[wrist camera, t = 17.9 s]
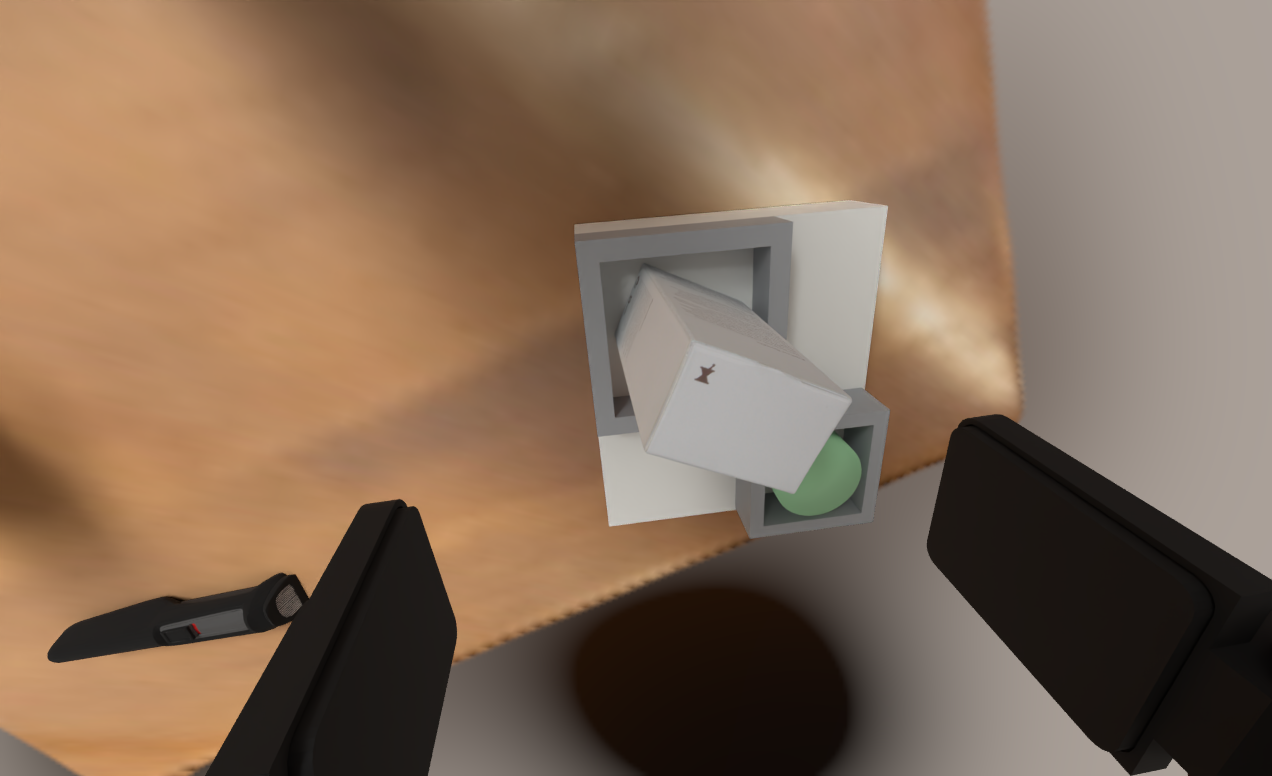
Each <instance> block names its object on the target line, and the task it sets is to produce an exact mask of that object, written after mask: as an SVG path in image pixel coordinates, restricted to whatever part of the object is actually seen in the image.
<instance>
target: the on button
mask: <svg viewBox="0 0 1272 776" xmlns="http://www.w3.org/2000/svg"><path fill="white" fill-rule="evenodd" d="M861 471H862V469H861V462H860V459H859V457H858V455H857V454H856V453H855V451H854V450H853V449H852V448H851V447H850V446H849V445H848V444H847V443H846V442H845V441H844V440H843V439H842V438H841V437H840V436H839V435H838V434H837V433H836V432H835V431H833V432H832V434H831V436H830V437H829V439H828V440H827V442H826V443H825V445H824V447H823V448H822V450H821V451H820V453H819V454H818V456H817V458H816V459H815V461H814V463H813V464H812V466H811V468H810V469H809V471H808V473H807V474H806V476H805V477H804V479H803V481H802V482H801V484H800V486H799V487H798V489H797V491H796V493H795V494H790V493H787V492H784V491H781V490H777V489H774V488H772V490H773V492H774V493H775V495H776V497H777V498H778V500H779V502H780V503H781V504H782V506H783V507H785V508H786V509H787V510H789V511H790V512H792V513H795V514H798V515H803V516H814V515H820V514H824V513H827V512H829V511H832V510H834V509H836V508H837V507H839V506H840V505H842V504H843V503H844V502H845V501H847V500H848V499H849V498H850V496H851V495H852V494H853V493H854V491H855V490H856V488H857V486H858V484H859V481H860V478H861Z"/></svg>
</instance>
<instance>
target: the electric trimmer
mask: <svg viewBox="0 0 1272 776" xmlns="http://www.w3.org/2000/svg"><path fill="white" fill-rule="evenodd" d="M307 600H309V598H308V596H307V594H306V593H305V591H304V589H303V587H302V586H301V584H300V582H299V580H298V579H297V577H296V575H288V576H287V575H286V574H284V573H279V574H276V575H274V576H272V577H271V578H269V579H267V580H266V581H264V582H262V583H261V584H260V585H258V586H256V587H251V588H246V589H241V590H236V591H231V592H226V593H221V594H216V595H211V596H206V597H201V598H196V599H191V600H186V601H182V602H181V601H178V600H175V599H172V598H169V597H160V598H156V599H152V600H148V601H145V602H142V603H138V604H135V605H132V606H129V607H125V608H122V609H119V610H116V611H112V612H109V613H106V614H103V615H99V616H96V617H93V618H90V619H86V620H83V621H80V622H78V623H75V624H74V625H72V626H70V627H69V628H68V629H66V630H65V631H64V632H63V633H62V635H61V636H60V637H59V638H58V639H57V641H56V642H55V643H54V644H53V645H52V647H51V648H50V650H49V652H48V659H49V660H50V661H52V662H56V663H61V662H67V661H74V660H80V659H86V658H92V657H98V656H104V655H111V654H117V653H123V652H129V651H135V650H141V649H148V648H154V647H160V646H175V645H182V644H189V643H195V642H201V641H208V640H214V639H221V638H227V637H233V636H240V635H246V634H253V633H260V632H265V631H268V630H271V629H274V628H276V627H278V626H281V625H284V624H286V623H289V622H291V621H293V619H294V618H295V616H296V614H297V612H298V611H299V609H300V608H301V607H302V605H303V604H304V603H305V602H306V601H307Z"/></svg>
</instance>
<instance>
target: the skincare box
mask: <svg viewBox="0 0 1272 776" xmlns="http://www.w3.org/2000/svg"><path fill="white" fill-rule="evenodd" d="M615 339H616V343H617V347H618V351H619V355H620V359H621V362H622V366H623V370H624V374H625V378H626V382H627V386H628V390H629V394H630V398H631V402H632V406H633V410H634V413H635V417H636V421H637V425H638V429H639V433H640V437H641V441H642V445H643V448H644V451H645V452H646V453H647V454H651V455H654V456H658V457H661V458H665V459H668V460H672V461H676V462H679V463H683V464H686V465H690V466H693V467H697V468H701V469H704V470H708V471H712V472H715V473H719V474H723V475H727V476H730V477H734V478H738V479H741V480H745V481H749V482H752V483H756V484H760V485H763V486H767V487H770V488H774V489H777V490H781V491H784V492H787V493H790V494H795V493H796V491H797V489H798V487H799V486H800V484H801V482H802V481H803V479H804V477H805V476H806V474H807V473H808V471H809V469H810V468H811V466H812V464H813V463H814V461H815V459H816V458H817V456H818V454H819V453H820V451H821V450H822V448H823V447H824V445H825V443H826V442H827V440H828V439H829V437H830V436H831V434H832V432H833V431H834V429H835V428H836V426H837V424H838V423H839V421H840V420H841V418H842V417H843V415H844V414H845V412H846V411H847V409H848V408H849V406H850V405H851V403H852V398H851V397H850V396H849V395H848V394H847V393H846V392H844V391H843V390H842V389H841V388H840V387H839V386H838V385H837V384H835V383H834V382H833V381H832V380H831V379H830V378H829V377H828V376H826V375H825V374H824V373H823V372H822V371H821V370H820V369H818V368H817V367H816V366H815V365H814V364H813V363H812V362H811V361H809V360H808V359H807V358H806V357H805V356H804V355H803V354H801V353H800V352H799V351H798V350H797V349H796V348H794V347H793V346H792V345H791V344H790V343H789V342H788V341H787V340H785V339H784V338H783V337H782V336H781V335H780V334H778V333H777V332H776V331H775V330H774V329H773V328H771V327H770V326H769V325H768V324H767V323H766V322H765V321H763V320H762V319H761V318H760V317H759V316H758V315H757V314H756V313H754V312H753V311H752V310H751V309H750V308H749V307H748V306H746V305H745V304H744V303H743V302H742V301H740V300H737V299H735V298H732V297H730V296H727V295H725V294H722V293H720V292H717V291H714V290H712V289H709V288H707V287H704V286H702V285H699V284H697V283H694V282H692V281H689V280H686V279H684V278H681V277H679V276H676V275H674V274H671V273H668V272H666V271H663V270H661V269H658V268H656V267H653V266H650V265H648V264H645V263H643V264H642V266H641V269H640V271H639V274H638V276H637V279H636V281H635V283H634V286H633V288H632V291H631V293H630V296H629V298H628V301H627V304H626V306H625V309H624V311H623V314H622V317H621V319H620V322H619V324H618V326H617V329H616V331H615Z"/></svg>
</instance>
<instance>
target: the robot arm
mask: <svg viewBox="0 0 1272 776" xmlns="http://www.w3.org/2000/svg"><path fill="white" fill-rule="evenodd" d="M927 550H928V553H929V556H930V558H931V560H932V561H933V563H934V564H935V565H936V566H937V568H938V569H939V570H940V571H941V572H942V573H943V574H944V575H945V577H946V578H947V579H948V580H949V581H950V582H951V583H952V584H953V585H954V587H955V588H956V589H957V590H958V591H959V592H960V593H961V595H962V596H963V597H964V598H965V599H966V600H967V601H968V603H969V604H970V605H971V606H972V607H973V608H974V609H975V610H976V612H977V613H978V614H979V615H980V616H981V617H982V618H983V619H984V621H985V622H986V623H987V624H988V625H989V626H990V627H991V629H992V630H993V631H994V632H995V633H996V634H997V635H998V636H999V638H1000V639H1001V640H1002V641H1003V642H1004V643H1005V644H1006V645H1007V647H1008V648H1009V649H1010V650H1011V651H1012V652H1013V653H1014V655H1015V656H1016V657H1017V658H1018V659H1019V660H1020V661H1021V662H1022V663H1023V665H1024V666H1025V667H1026V668H1027V669H1028V670H1029V671H1030V673H1031V674H1032V675H1033V676H1034V677H1035V678H1036V679H1037V680H1038V682H1039V683H1040V684H1041V685H1042V686H1043V687H1044V688H1045V689H1046V691H1047V692H1048V693H1049V694H1050V695H1051V696H1052V697H1053V699H1054V700H1055V701H1056V702H1057V703H1058V704H1059V705H1060V706H1061V708H1062V709H1063V710H1064V711H1065V712H1066V713H1067V714H1068V716H1069V717H1070V718H1071V719H1072V720H1073V721H1074V722H1075V723H1076V725H1077V726H1078V727H1079V728H1080V729H1081V730H1082V731H1083V732H1084V733H1085V735H1086V736H1087V737H1088V738H1089V739H1090V740H1091V741H1092V742H1093V743H1094V744H1095V745H1097V746H1098V747H1099V748H1101V749H1102V750H1105V751H1107V752H1110V753H1111V754H1112V756H1113V757H1114V758H1115V759H1116V760H1117V761H1118V762H1119V763H1120V765H1121V766H1122V767H1123V768H1124V769H1125V770H1126V771H1127V772H1128V773H1129V774H1130V776H1132V775H1137V774H1141V773H1146V772H1151V771H1156V770H1160V769H1165V768H1167V766H1168V764H1169V763H1170V762H1171V760H1172V759H1174V760H1175V761H1176V762H1178V764H1179V765H1180V766H1181V767H1182V768H1183V769H1184V770H1185V771H1186V772H1187V773H1188V776H1272V580H1271V579H1269V578H1268V577H1266V576H1265V575H1263V574H1261V573H1260V572H1258V571H1257V570H1255V569H1253V568H1252V567H1250V566H1248V565H1247V564H1245V563H1244V562H1242V561H1240V560H1239V559H1237V558H1235V557H1234V556H1232V555H1231V554H1229V553H1227V552H1226V551H1224V550H1222V549H1221V548H1219V547H1217V546H1216V545H1214V544H1212V543H1211V542H1209V541H1208V540H1206V539H1204V538H1203V537H1201V536H1200V535H1198V534H1196V533H1195V532H1193V531H1191V530H1190V529H1188V528H1186V527H1185V526H1183V525H1182V524H1180V523H1178V522H1177V521H1175V520H1174V519H1172V518H1170V517H1169V516H1167V515H1165V514H1164V513H1162V512H1161V511H1159V510H1157V509H1156V508H1154V507H1152V506H1151V505H1149V504H1147V503H1146V502H1144V501H1143V500H1141V499H1139V498H1138V497H1136V496H1135V495H1133V494H1131V493H1130V492H1128V491H1126V490H1125V489H1123V488H1121V487H1120V486H1118V485H1116V484H1115V483H1113V482H1112V481H1110V480H1108V479H1107V478H1105V477H1104V476H1102V475H1100V474H1099V473H1097V472H1095V471H1094V470H1092V469H1090V468H1089V467H1087V466H1086V465H1084V464H1082V463H1081V462H1079V461H1078V460H1076V459H1074V458H1073V457H1071V456H1069V455H1068V454H1066V453H1064V452H1063V451H1061V450H1060V449H1058V448H1056V447H1055V446H1053V445H1051V444H1050V443H1048V442H1047V441H1045V440H1043V439H1042V438H1040V437H1038V436H1037V435H1035V434H1034V433H1032V432H1030V431H1029V430H1027V429H1025V428H1024V427H1022V426H1021V425H1019V424H1017V423H1016V422H1014V421H1012V420H1011V419H1009V418H1008V417H1005V416H1003V415H998V414H994V415H987V416H980V417H973V418H967V419H965V420H962V422H961V423H960V424H959V425H958V428H957V429H955V430H954V431H953V432H952V434H951V437H950V441H949V446H948V450H947V455H946V459H945V463H944V468H943V472H942V477H941V482H940V486H939V490H938V495H937V499H936V504H935V508H934V513H933V517H932V521H931V526H930V531H929V535H928V539H927ZM456 639H457V626H456V620H455V616H454V613H453V610H452V607H451V604H450V602H449V599H448V596H447V593H446V590H445V587H444V584H443V581H442V578H441V575H440V572H439V569H438V566H437V563H436V560H435V557H434V554H433V551H432V549H431V546H430V543H429V540H428V537H427V534H426V531H425V528H424V525H423V522H422V519H421V516H420V513H419V511H418V509H417V508H416V507H414V506H412V507H407V505H406V503H405V502H404V501H403V500H400V499H398V500H391V501H384V502H377V503H370V504H365V505H363V506H362V507H361V508H360V509H359V510H358V512H357V514H356V516H355V518H354V519H353V521H352V523H351V525H350V527H349V528H348V530H347V532H346V534H345V536H344V537H343V539H342V541H341V543H340V545H339V546H338V548H337V550H336V552H335V554H334V555H333V557H332V559H331V561H330V563H329V564H328V566H327V568H326V570H325V572H324V573H323V575H322V577H321V579H320V581H319V582H318V584H317V586H316V588H315V590H314V591H313V593H312V595H311V597H310V599H309V600H307V601H306V602H305V603H304V604H303V605H302V607H301V608H300V609H299V611H298V612H297V614H296V616H295V618H294V619H293V621H292V623H291V625H290V627H289V628H288V630H287V632H286V634H285V635H284V637H283V639H282V641H281V642H280V644H279V646H278V648H277V649H276V651H275V653H274V655H273V657H272V658H271V660H270V662H269V664H268V665H267V667H266V669H265V671H264V672H263V674H262V676H261V678H260V680H259V681H258V683H257V685H256V687H255V688H254V690H253V692H252V694H251V695H250V697H249V699H248V701H247V703H246V704H245V706H244V708H243V710H242V711H241V713H240V715H239V717H238V718H237V720H236V722H235V724H234V725H233V727H232V729H231V731H230V733H229V734H228V736H227V738H226V740H225V741H224V743H223V745H222V747H221V748H220V750H219V752H218V754H217V756H216V757H215V759H214V761H213V763H212V764H211V766H210V768H209V770H208V771H207V773H206V775H205V776H428V772H429V767H430V762H431V758H432V752H433V748H434V744H435V739H436V734H437V729H438V725H439V720H440V716H441V711H442V706H443V701H444V697H445V692H446V687H447V683H448V678H449V673H450V669H451V664H452V659H453V655H454V650H455V645H456Z"/></svg>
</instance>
